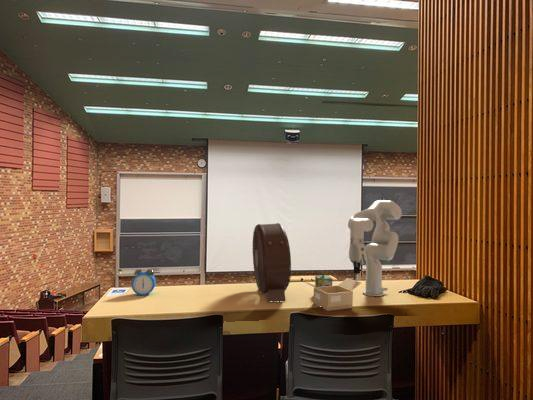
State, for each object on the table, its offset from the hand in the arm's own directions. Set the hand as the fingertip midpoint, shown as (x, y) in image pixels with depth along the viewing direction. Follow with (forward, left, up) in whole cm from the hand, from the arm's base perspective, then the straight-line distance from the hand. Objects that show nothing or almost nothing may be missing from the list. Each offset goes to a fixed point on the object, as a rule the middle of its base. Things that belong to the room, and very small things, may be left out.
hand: (356, 273), depth 199 cm
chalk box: (+10, -19, -17) cm, 27 cm away
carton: (+16, 0, -17) cm, 23 cm away
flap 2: (+5, 0, -5) cm, 7 cm away
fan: (+40, -32, -17) cm, 54 cm away
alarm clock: (+111, -57, -17) cm, 126 cm away
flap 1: (+27, 0, -6) cm, 28 cm away
